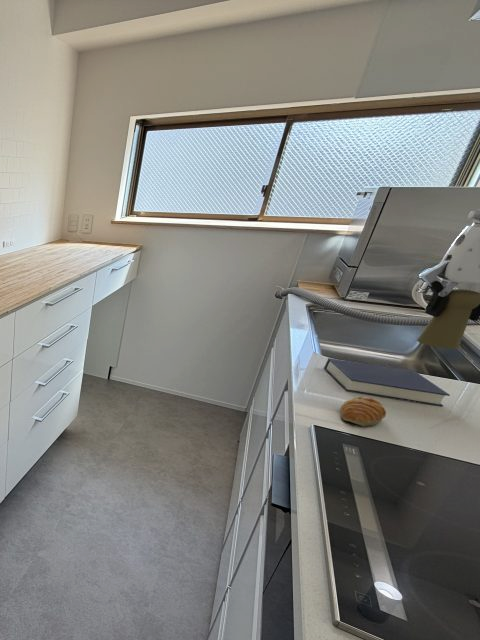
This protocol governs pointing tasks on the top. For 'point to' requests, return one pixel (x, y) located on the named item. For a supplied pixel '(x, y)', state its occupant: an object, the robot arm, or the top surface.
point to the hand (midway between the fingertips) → (450, 315)
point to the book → (384, 381)
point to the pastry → (363, 411)
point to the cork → (451, 320)
